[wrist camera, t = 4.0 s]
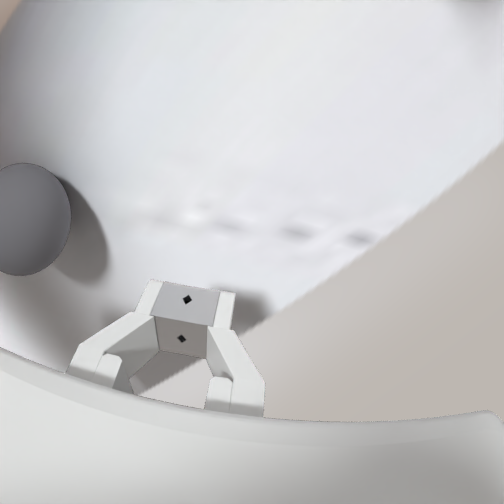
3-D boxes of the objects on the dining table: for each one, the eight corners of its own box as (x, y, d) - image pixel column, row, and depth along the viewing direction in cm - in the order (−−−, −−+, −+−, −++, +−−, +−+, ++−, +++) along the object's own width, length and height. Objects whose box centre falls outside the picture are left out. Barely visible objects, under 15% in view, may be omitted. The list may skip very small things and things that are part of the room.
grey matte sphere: (8, 147, 13) (-59, 196, 8) (83, 146, 13) (11, 203, 9) (27, 228, 16) (-23, 286, 12) (96, 239, 16) (49, 310, 12)
